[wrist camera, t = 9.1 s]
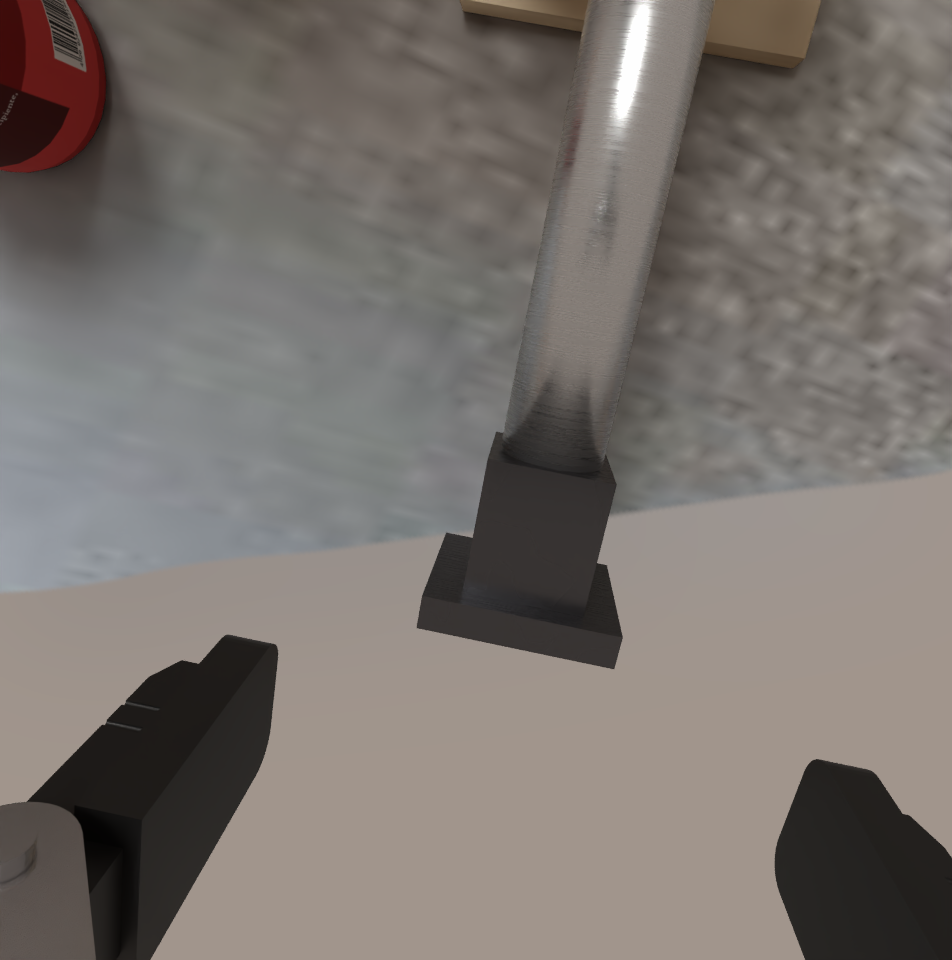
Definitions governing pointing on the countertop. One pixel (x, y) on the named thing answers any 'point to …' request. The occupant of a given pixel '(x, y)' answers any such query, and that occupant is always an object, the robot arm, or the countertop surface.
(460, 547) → the shaft
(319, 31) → the countertop surface
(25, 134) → the canned food
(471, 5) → the block
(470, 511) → the countertop surface
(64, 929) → the robot arm
